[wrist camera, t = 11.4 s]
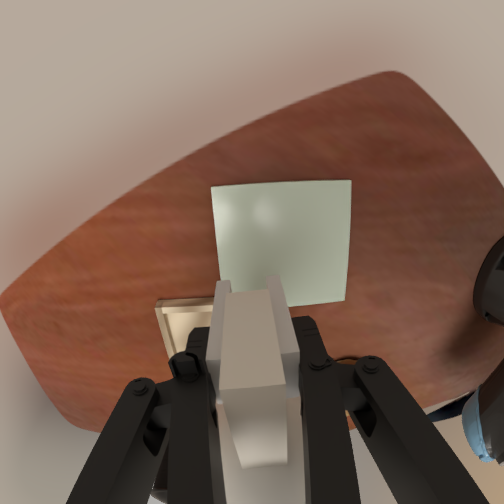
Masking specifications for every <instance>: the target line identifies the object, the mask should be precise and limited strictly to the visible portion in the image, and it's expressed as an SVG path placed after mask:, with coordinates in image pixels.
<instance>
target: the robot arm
mask: <svg viewBox="0 0 504 504" xmlns="http://www.w3.org/2000/svg"><path fill="white" fill-rule="evenodd" d="M266 286H267V289H269V293H270V299H271V304H272V310H273V315H274V321H275V326H276V332H277V337H278V343H279V348H280V354H281V360H282V365H283V371H284V377H285V382H286V398H294V397H299V392H300V397H301V409H300V415H301V419H302V435H303V454H304V476H305V504H361V500H360V493H359V486H358V479H357V473H356V467H355V461H354V455H353V449H352V444H351V438H350V433H349V427H348V422H347V417H346V412H345V410H346V411H348V413H349V415H350V417H351V418H352V420H353V422H354V424H355V426H356V428H357V429H358V431H359V433H360V435H361V437H362V438H363V440H364V442H365V444H366V446H367V448H368V449H369V451H370V453H371V455H372V457H373V459H374V461H375V462H376V464H377V466H378V468H379V470H380V471H381V473H382V475H383V477H384V479H385V481H386V483H387V484H388V486H389V488H390V490H391V492H392V493H393V496H394V497H395V499H396V501H397V503H398V504H489V502H488V501H487V499H486V498H485V496H484V495H483V493H482V492H481V490H480V489H479V487H478V486H477V484H476V483H475V482H474V480H473V478H472V477H471V476H470V475H469V473H468V471H467V470H466V468H465V467H464V466H463V464H462V463H461V461H460V460H459V459H458V457H457V456H456V454H455V453H454V452H453V450H452V449H451V447H450V446H449V445H448V443H447V442H446V441H445V439H444V438H443V437H442V435H441V434H440V432H439V431H438V430H437V429H436V427H435V426H434V424H433V423H432V422H431V420H430V419H429V418H428V416H427V415H426V414H425V413H424V411H423V410H422V409H421V407H420V406H419V405H418V403H417V402H416V401H415V399H414V398H413V397H412V395H411V394H410V393H409V392H408V390H407V389H406V388H405V386H404V385H403V384H402V383H401V381H400V380H399V379H398V377H397V376H396V375H395V374H394V372H393V371H392V370H391V369H390V367H389V366H388V365H387V364H386V362H385V361H384V360H382V359H381V358H379V357H376V356H364V357H362V358H360V359H358V360H357V362H356V363H355V365H353V364H341V363H338V362H335V361H334V360H333V358H331V357H330V356H329V355H328V354H327V352H326V349H325V346H324V344H323V341H322V338H321V336H320V333H319V330H318V328H317V325H316V323H315V321H314V320H313V319H312V318H311V317H310V316H302V317H294V318H291V316H290V313H289V309H288V305H287V302H286V298H285V294H284V291H283V287H282V283H281V280H280V276H279V275H272V276H266ZM226 293H232V289H231V282H230V280H222V281H217V283H216V290H215V296H214V303H213V310H212V317H211V323H210V326H209V327H194V328H193V330H192V331H191V332H190V333H189V335H188V340H187V344H186V348H185V351H181V352H178V353H176V354H174V355H173V356H172V357H171V358H170V360H169V362H168V364H169V366H170V369H171V372H172V374H173V377H174V378H172V379H171V380H168V381H165V382H161V383H157V384H155V383H154V381H152V380H151V379H149V378H137V379H134V380H133V381H131V382H130V383H129V384H128V385H127V386H126V388H125V390H124V391H123V393H122V395H121V397H120V399H119V401H118V402H117V404H116V406H115V408H114V410H113V412H112V413H111V415H110V417H109V419H108V421H107V423H106V425H105V426H104V428H103V430H102V432H101V434H100V436H99V438H98V440H97V442H96V444H95V446H94V447H93V449H92V452H91V453H90V455H89V457H88V459H87V461H86V463H85V465H84V467H83V470H82V471H81V473H80V475H79V477H78V479H77V481H76V483H75V485H74V488H73V490H72V492H71V494H70V496H69V498H68V500H67V502H66V504H147V502H148V499H149V496H150V493H151V490H152V487H153V484H154V482H155V479H156V476H157V473H158V470H159V467H160V464H161V461H162V458H163V456H164V453H165V450H166V447H167V444H168V441H169V452H168V482H167V504H227V502H226V493H225V485H224V476H223V467H222V457H221V446H220V435H219V424H218V413H217V409H216V406H215V405H216V400H217V403H218V404H223V403H222V399H221V396H220V392H219V379H220V365H221V351H222V337H223V324H224V312H225V299H226ZM474 307H475V309H476V311H477V313H478V314H479V315H481V316H482V317H483V318H484V319H485V320H487V321H489V322H491V323H494V324H497V325H500V326H503V327H504V238H502V239H501V240H500V241H499V242H498V243H497V244H496V245H495V246H494V247H493V249H492V250H491V251H490V253H489V254H488V256H487V258H486V260H485V261H484V263H483V265H482V268H481V270H480V272H479V275H478V278H477V281H476V285H475V290H474ZM462 424H463V429H464V433H465V436H466V438H467V441H468V443H469V445H470V447H471V448H472V450H473V452H474V453H475V454H476V455H477V456H479V459H480V460H481V461H483V462H490V461H493V460H494V459H496V460H497V462H498V464H499V465H500V466H504V359H503V360H502V361H501V362H500V364H499V365H498V366H497V367H496V369H495V370H494V371H493V372H492V373H491V375H490V376H489V377H488V378H487V379H486V380H485V382H484V383H483V384H481V385H479V387H478V389H477V391H476V392H475V393H474V394H473V395H472V397H471V398H470V399H469V400H468V401H467V402H466V404H465V405H464V408H463V411H462Z"/></svg>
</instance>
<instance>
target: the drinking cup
mask: <svg viewBox="0 0 504 504" xmlns="http://www.w3.org/2000/svg"><path fill="white" fill-rule="evenodd" d="M168 452H169V441H168V444H167V447H166V450H165V453H164V456H163V458H162V461H161V464H160V467H159V470H158V473H157V476H156V479H155V483H154V486H153V489H152V490H151V493H150V494H151V496H153V497H154V498H156V499H158V500H159V501H161V502H163V503H165V504H167V482H168Z"/></svg>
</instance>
